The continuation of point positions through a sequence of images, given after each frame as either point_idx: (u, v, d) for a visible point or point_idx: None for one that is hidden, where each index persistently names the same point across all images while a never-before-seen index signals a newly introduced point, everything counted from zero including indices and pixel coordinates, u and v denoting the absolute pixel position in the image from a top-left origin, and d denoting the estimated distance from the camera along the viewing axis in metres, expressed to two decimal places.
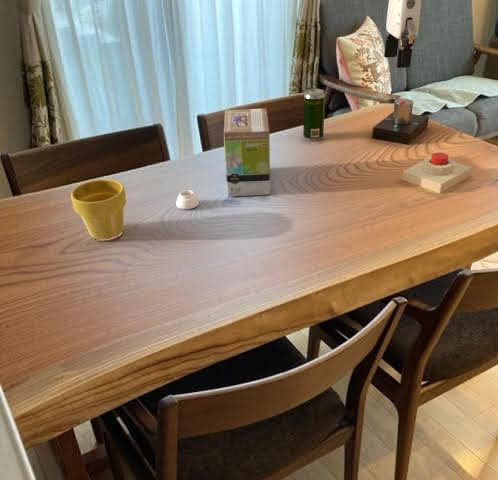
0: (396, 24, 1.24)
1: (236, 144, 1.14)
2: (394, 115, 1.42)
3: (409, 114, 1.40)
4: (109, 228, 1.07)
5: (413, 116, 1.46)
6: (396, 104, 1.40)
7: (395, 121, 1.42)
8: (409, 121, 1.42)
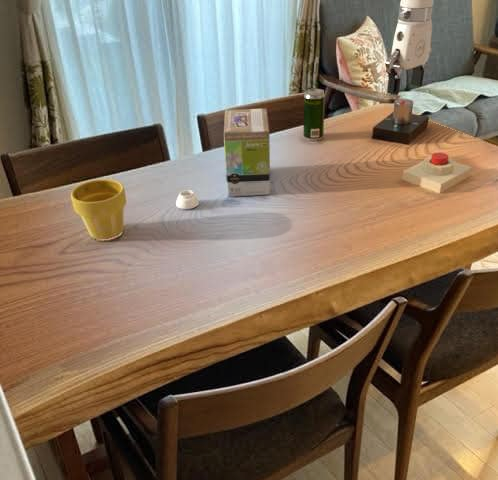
0: None
1: (236, 144, 1.14)
2: (394, 115, 1.42)
3: (409, 114, 1.40)
4: (109, 228, 1.07)
5: (413, 116, 1.46)
6: (396, 104, 1.40)
7: (395, 121, 1.42)
8: (409, 121, 1.42)
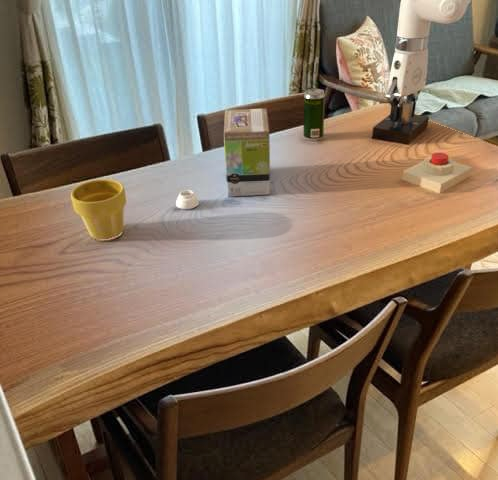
0: None
1: (236, 144, 1.14)
2: None
3: (409, 114, 1.40)
4: (109, 228, 1.07)
5: None
6: None
7: None
8: (409, 121, 1.42)
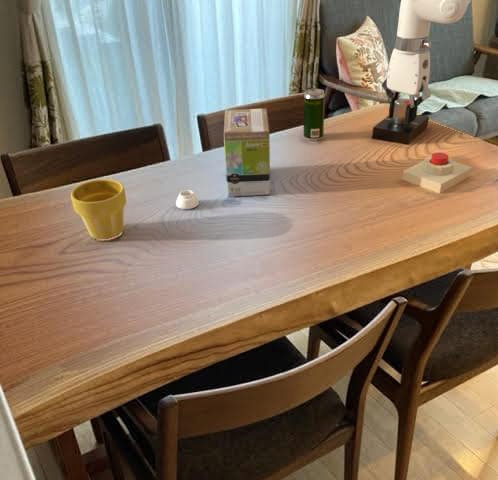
0: (411, 83, 1.34)
1: (236, 144, 1.14)
2: None
3: None
4: (109, 228, 1.07)
5: None
6: (409, 105, 1.39)
7: None
8: None
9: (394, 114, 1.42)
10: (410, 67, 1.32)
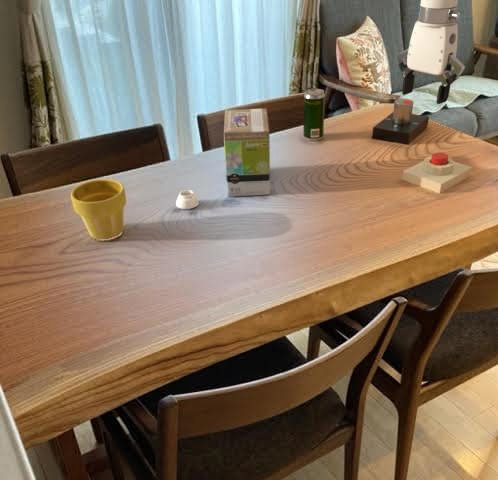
0: (435, 61, 1.18)
1: (236, 144, 1.14)
2: (406, 116, 1.41)
3: None
4: (109, 228, 1.07)
5: (413, 116, 1.46)
6: (409, 105, 1.39)
7: (408, 122, 1.42)
8: None
9: (394, 114, 1.42)
10: (435, 42, 1.16)
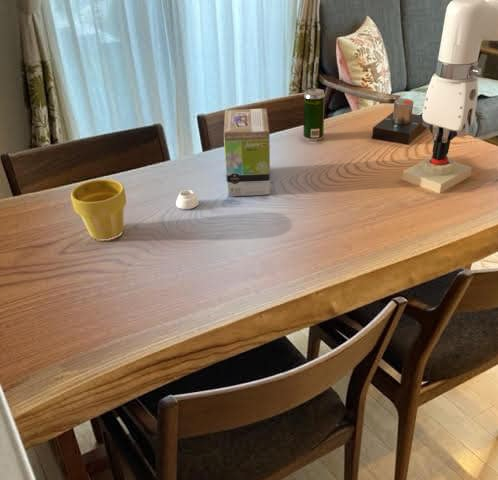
0: (454, 117, 1.11)
1: (236, 144, 1.14)
2: (406, 116, 1.41)
3: None
4: (109, 228, 1.07)
5: (413, 116, 1.46)
6: (409, 105, 1.39)
7: (408, 122, 1.42)
8: None
9: (394, 114, 1.42)
10: (454, 98, 1.09)
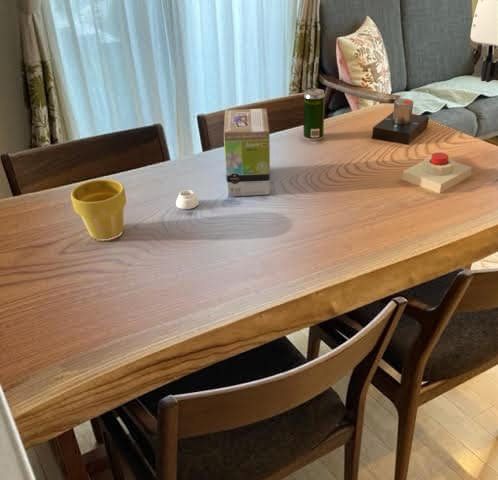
0: None
1: (236, 144, 1.14)
2: (406, 116, 1.41)
3: None
4: (109, 228, 1.07)
5: (413, 116, 1.46)
6: (409, 105, 1.39)
7: (408, 122, 1.42)
8: None
9: (394, 114, 1.42)
10: None
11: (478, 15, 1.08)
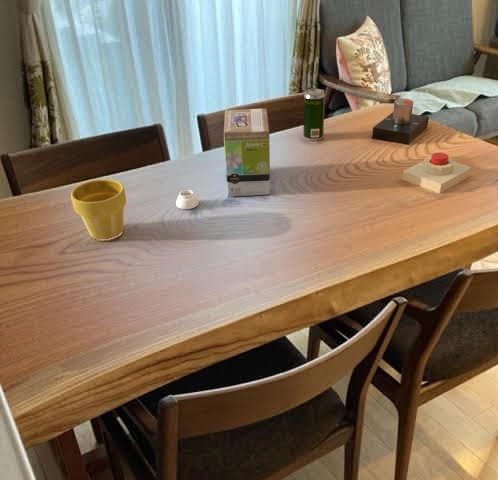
0: None
1: (236, 144, 1.14)
2: (406, 116, 1.41)
3: None
4: (109, 228, 1.07)
5: (413, 116, 1.46)
6: (409, 105, 1.39)
7: (408, 122, 1.42)
8: None
9: (394, 114, 1.42)
10: None
11: None
